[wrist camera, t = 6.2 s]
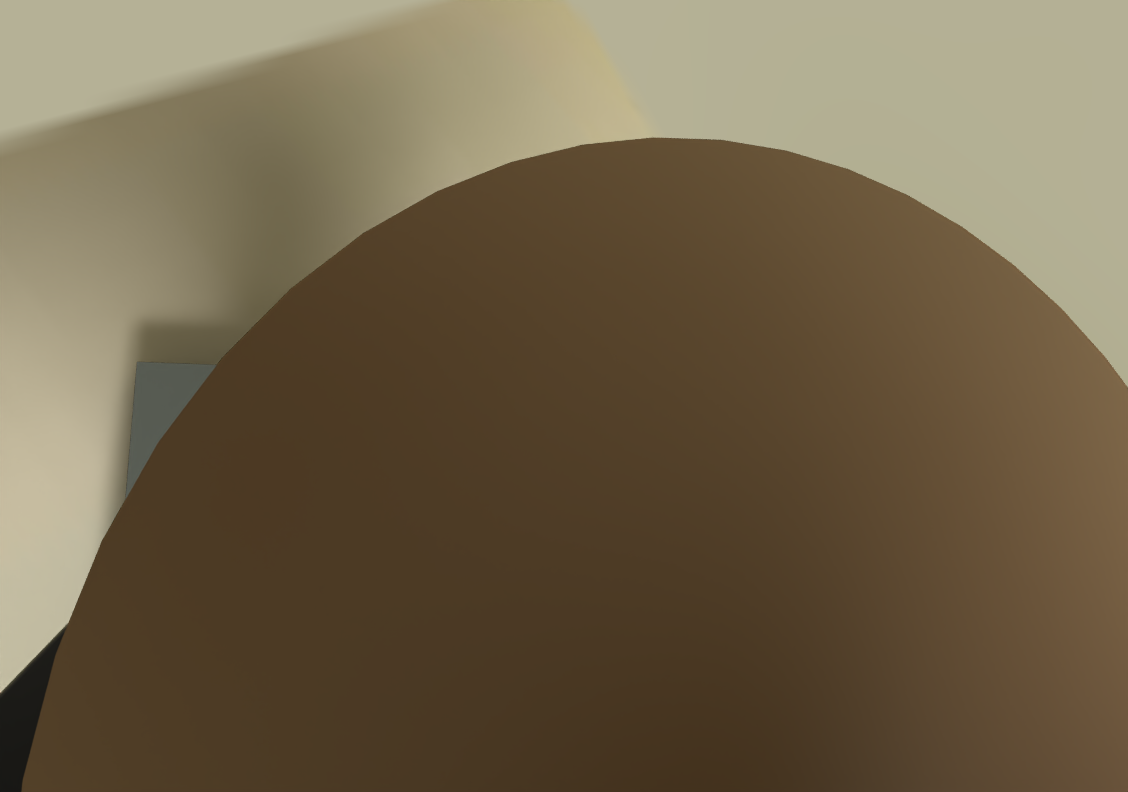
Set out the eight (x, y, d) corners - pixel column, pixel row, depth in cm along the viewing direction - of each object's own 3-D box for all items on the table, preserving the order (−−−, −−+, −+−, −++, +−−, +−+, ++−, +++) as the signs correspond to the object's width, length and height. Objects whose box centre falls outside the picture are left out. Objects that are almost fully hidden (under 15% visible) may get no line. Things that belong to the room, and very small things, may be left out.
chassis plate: (611, 824, 21) (685, 884, 17) (104, 900, 17) (40, 1001, 13) (590, 389, 23) (649, 349, 19) (146, 373, 20) (104, 320, 16)
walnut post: (482, 788, 15) (1299, 1729, 3) (216, 716, 14) (-503, 1779, 2) (558, 533, 16) (1285, 386, 4) (324, 451, 15) (398, -65, 3)
